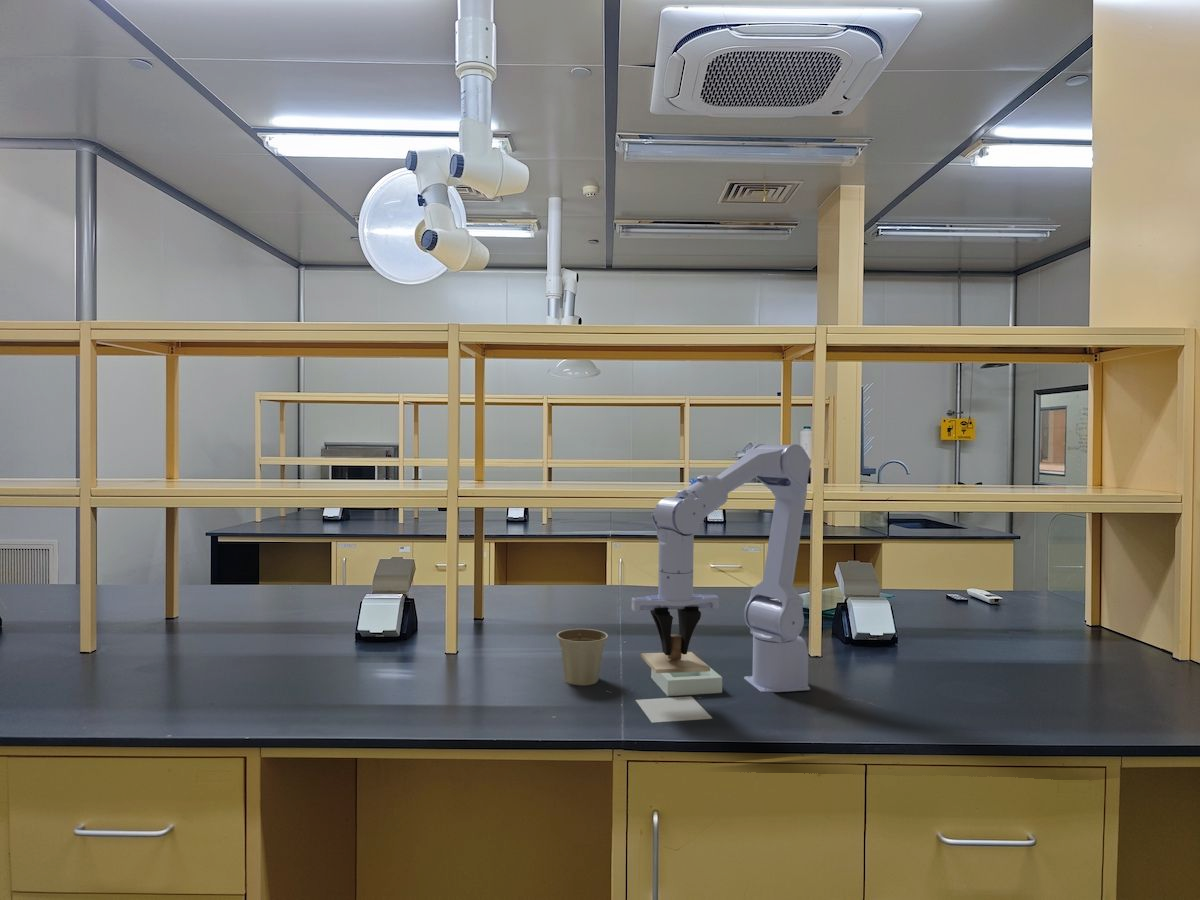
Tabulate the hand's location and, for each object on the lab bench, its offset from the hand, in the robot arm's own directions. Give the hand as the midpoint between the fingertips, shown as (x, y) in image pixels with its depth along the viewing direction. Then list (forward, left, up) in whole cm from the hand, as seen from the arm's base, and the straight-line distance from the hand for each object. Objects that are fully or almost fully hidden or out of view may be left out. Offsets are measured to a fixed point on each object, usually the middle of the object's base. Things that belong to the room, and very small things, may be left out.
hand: (674, 653), depth 117 cm
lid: (0, 0, -2) cm, 2 cm away
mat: (0, +1, -9) cm, 9 cm away
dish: (-6, -10, -10) cm, 15 cm away
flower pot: (+12, -16, -10) cm, 23 cm away
